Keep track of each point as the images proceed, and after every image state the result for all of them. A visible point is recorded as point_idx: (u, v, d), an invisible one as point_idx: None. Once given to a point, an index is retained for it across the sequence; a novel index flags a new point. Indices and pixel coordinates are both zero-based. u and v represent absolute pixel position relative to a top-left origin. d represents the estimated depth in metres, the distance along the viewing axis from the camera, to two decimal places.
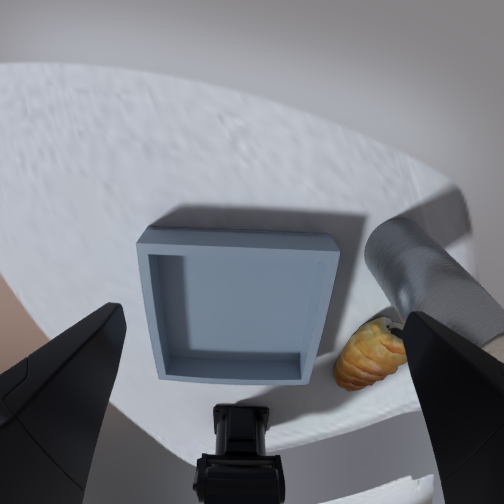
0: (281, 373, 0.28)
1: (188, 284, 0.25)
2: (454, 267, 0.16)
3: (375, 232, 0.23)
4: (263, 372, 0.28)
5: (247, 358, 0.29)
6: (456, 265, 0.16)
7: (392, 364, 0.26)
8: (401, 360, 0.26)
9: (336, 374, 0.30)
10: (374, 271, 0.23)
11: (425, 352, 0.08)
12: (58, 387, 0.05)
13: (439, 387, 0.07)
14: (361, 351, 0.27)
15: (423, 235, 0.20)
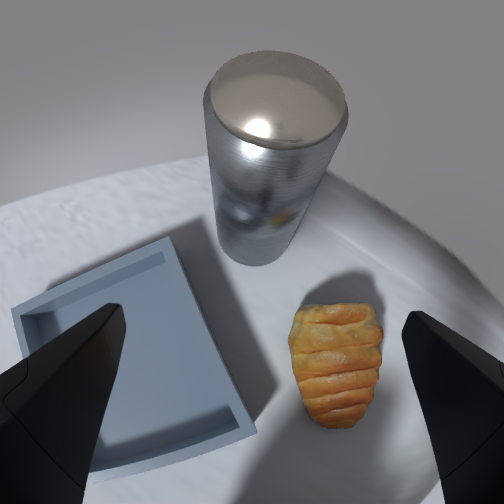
0: (214, 434, 0.18)
1: None
2: None
3: None
4: (191, 442, 0.17)
5: (173, 438, 0.19)
6: None
7: (355, 340, 0.19)
8: (367, 330, 0.19)
9: (309, 412, 0.19)
10: (225, 243, 0.21)
11: (425, 352, 0.08)
12: (58, 387, 0.05)
13: (439, 387, 0.07)
14: (303, 352, 0.20)
15: None
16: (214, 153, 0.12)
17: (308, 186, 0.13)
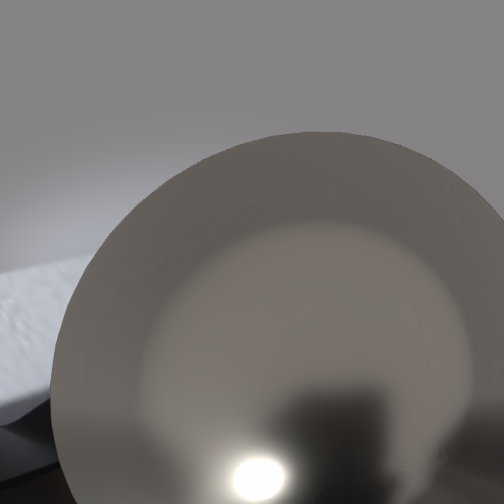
0: None
1: None
2: None
3: None
4: None
5: None
6: None
7: None
8: None
9: None
10: None
11: None
12: None
13: None
14: None
15: None
16: None
17: None
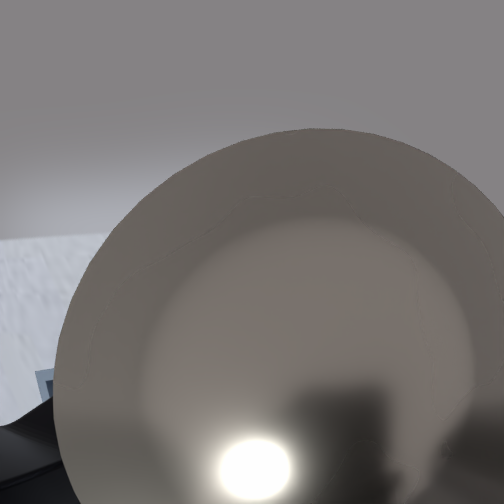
0: None
1: None
2: None
3: None
4: None
5: None
6: None
7: None
8: None
9: None
10: None
11: None
12: None
13: None
14: None
15: None
16: None
17: None
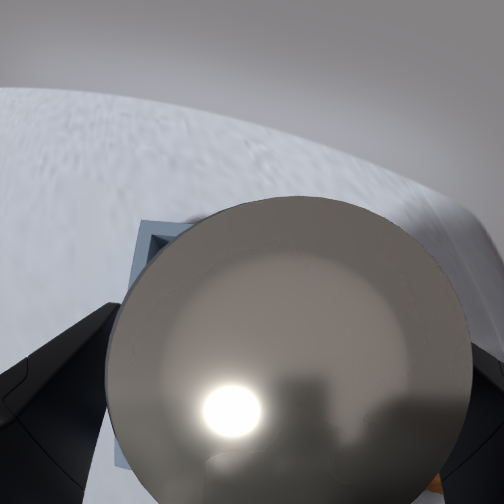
0: None
1: None
2: None
3: None
4: None
5: None
6: None
7: None
8: None
9: None
10: None
11: None
12: (58, 387, 0.05)
13: None
14: None
15: None
16: None
17: None
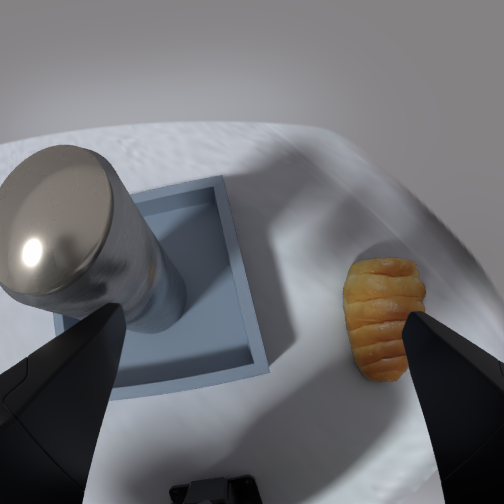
0: (226, 369, 0.19)
1: None
2: None
3: None
4: (201, 374, 0.19)
5: (181, 371, 0.20)
6: None
7: (405, 291, 0.20)
8: (414, 284, 0.21)
9: (360, 362, 0.21)
10: None
11: (425, 352, 0.08)
12: (58, 387, 0.05)
13: (439, 387, 0.07)
14: (359, 300, 0.21)
15: None
16: None
17: (124, 292, 0.11)
